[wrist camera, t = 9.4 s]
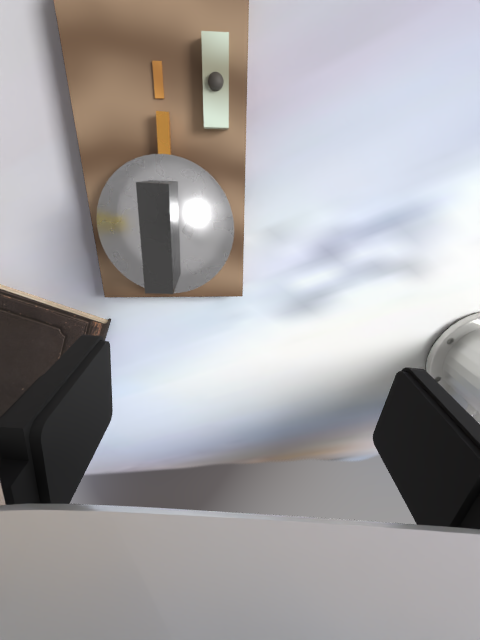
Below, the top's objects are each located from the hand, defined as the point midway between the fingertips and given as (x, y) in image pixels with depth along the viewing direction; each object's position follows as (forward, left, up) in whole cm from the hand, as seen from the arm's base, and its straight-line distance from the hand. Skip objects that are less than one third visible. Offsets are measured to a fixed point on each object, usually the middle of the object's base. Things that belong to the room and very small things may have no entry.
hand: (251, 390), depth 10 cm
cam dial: (+3, +6, -23) cm, 23 cm away
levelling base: (+7, +6, -25) cm, 26 cm away
